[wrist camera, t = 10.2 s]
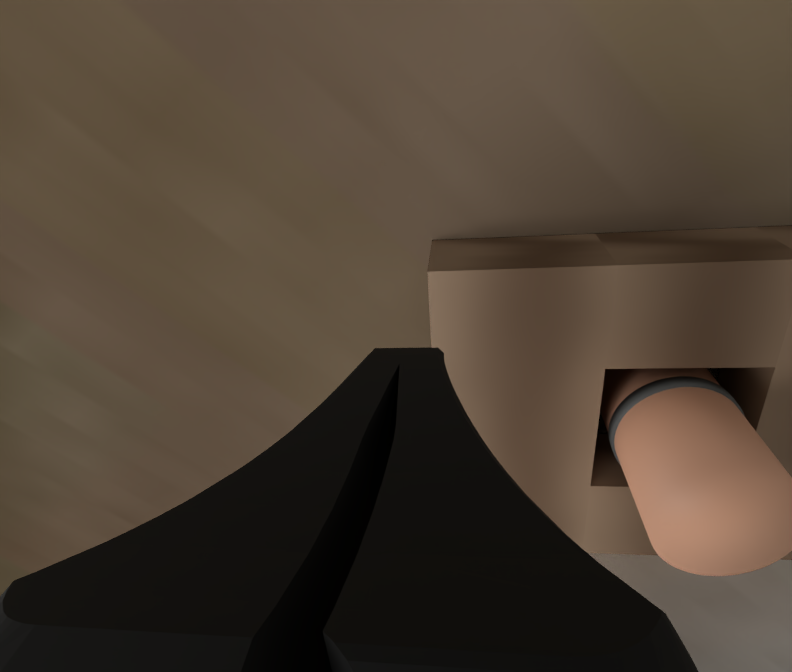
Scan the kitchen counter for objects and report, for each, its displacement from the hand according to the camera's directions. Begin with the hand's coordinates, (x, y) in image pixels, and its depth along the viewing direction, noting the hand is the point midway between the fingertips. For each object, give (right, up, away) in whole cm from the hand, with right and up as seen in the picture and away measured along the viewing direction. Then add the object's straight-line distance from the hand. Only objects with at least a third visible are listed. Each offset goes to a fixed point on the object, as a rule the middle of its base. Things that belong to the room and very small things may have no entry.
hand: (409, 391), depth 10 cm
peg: (+9, -1, +10) cm, 14 cm away
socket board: (+9, -1, +10) cm, 14 cm away
